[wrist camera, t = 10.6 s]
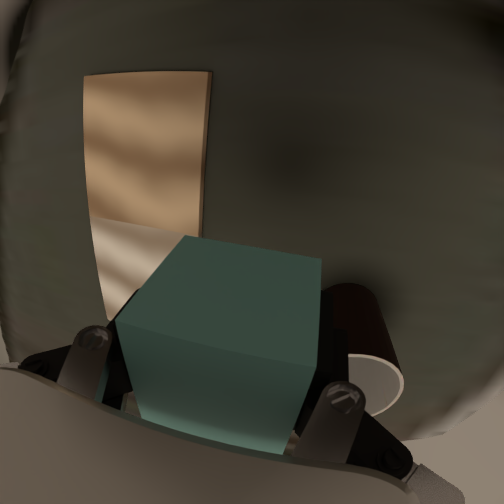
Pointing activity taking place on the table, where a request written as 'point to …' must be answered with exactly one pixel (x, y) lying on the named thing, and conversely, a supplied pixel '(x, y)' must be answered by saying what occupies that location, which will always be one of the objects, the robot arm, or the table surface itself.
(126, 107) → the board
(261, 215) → the table surface
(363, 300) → the coffee mug
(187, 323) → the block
